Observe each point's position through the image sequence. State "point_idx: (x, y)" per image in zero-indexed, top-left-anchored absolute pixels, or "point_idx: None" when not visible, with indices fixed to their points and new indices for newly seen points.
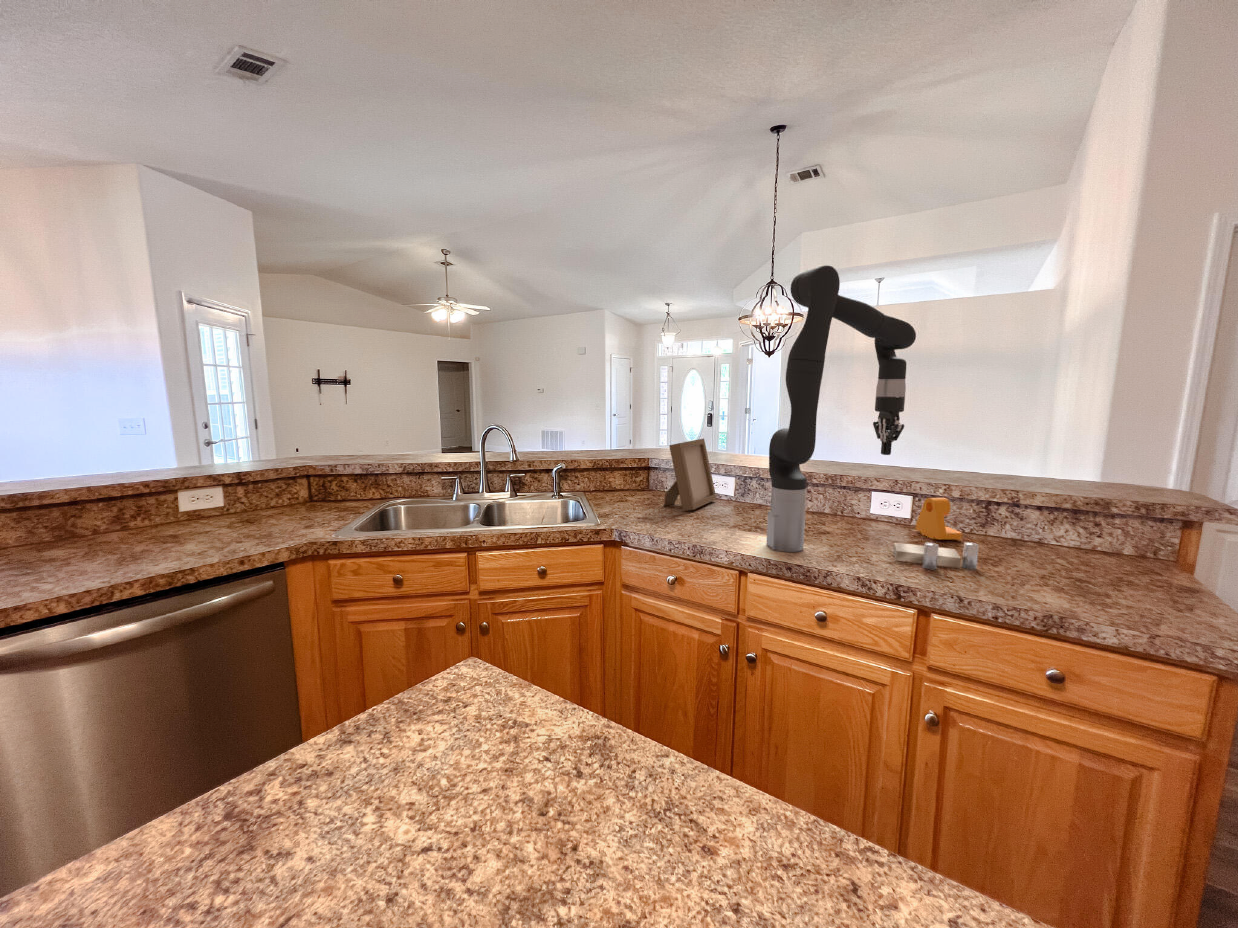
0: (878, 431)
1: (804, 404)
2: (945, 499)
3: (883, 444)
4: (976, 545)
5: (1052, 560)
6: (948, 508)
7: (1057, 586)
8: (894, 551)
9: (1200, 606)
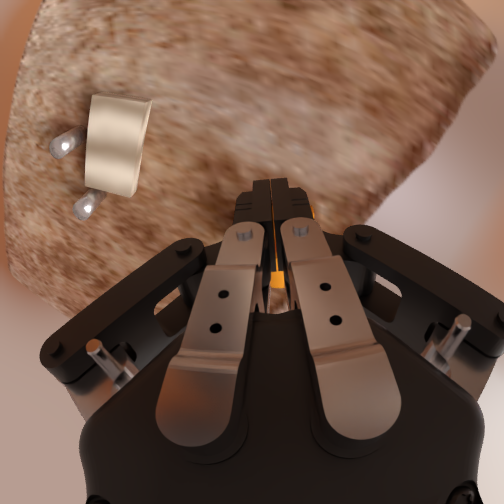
0: (395, 277)
1: None
2: (272, 283)
3: (262, 211)
4: (76, 215)
5: (170, 302)
6: None
7: (71, 253)
8: (132, 97)
9: None
